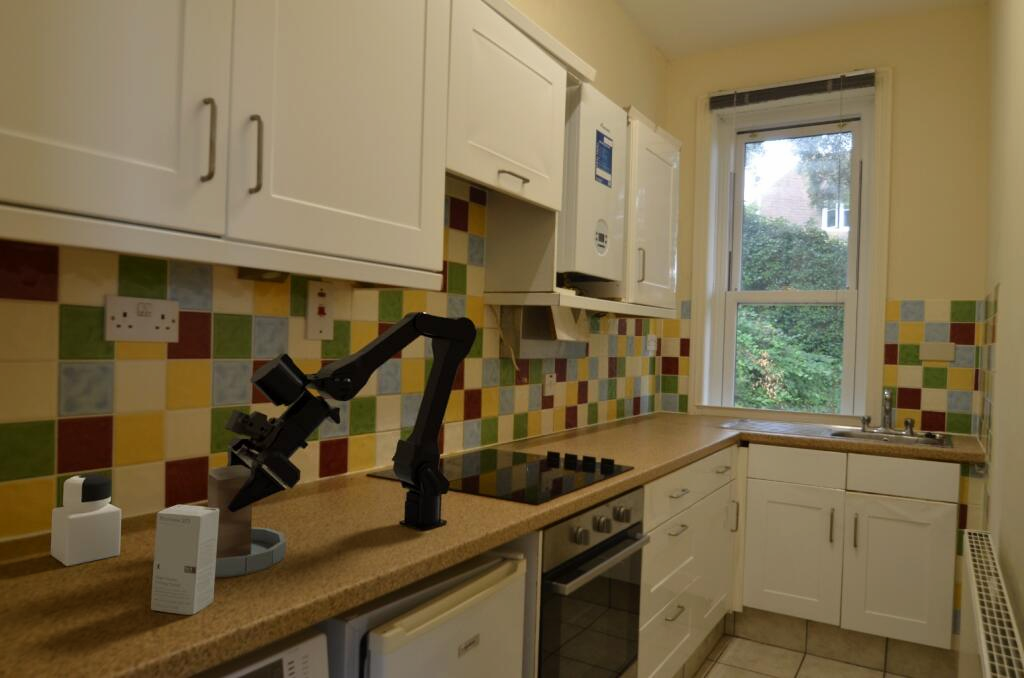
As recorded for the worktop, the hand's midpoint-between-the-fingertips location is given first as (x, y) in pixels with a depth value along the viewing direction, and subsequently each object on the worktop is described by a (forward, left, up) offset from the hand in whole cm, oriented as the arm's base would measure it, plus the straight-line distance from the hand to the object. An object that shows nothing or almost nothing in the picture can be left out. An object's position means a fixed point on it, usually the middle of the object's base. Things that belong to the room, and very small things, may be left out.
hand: (220, 503), depth 98 cm
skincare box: (+12, +12, -9) cm, 19 cm away
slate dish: (-1, 0, -9) cm, 9 cm away
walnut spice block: (-1, 0, -8) cm, 8 cm away
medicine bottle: (+12, -17, -9) cm, 22 cm away
